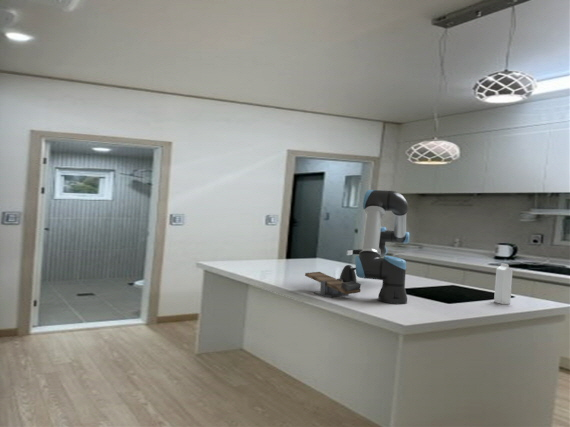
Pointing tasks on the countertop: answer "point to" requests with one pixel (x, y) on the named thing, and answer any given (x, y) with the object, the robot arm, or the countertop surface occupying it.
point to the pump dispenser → (348, 274)
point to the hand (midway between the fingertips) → (357, 254)
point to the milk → (503, 284)
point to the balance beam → (335, 283)
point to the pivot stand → (329, 291)
